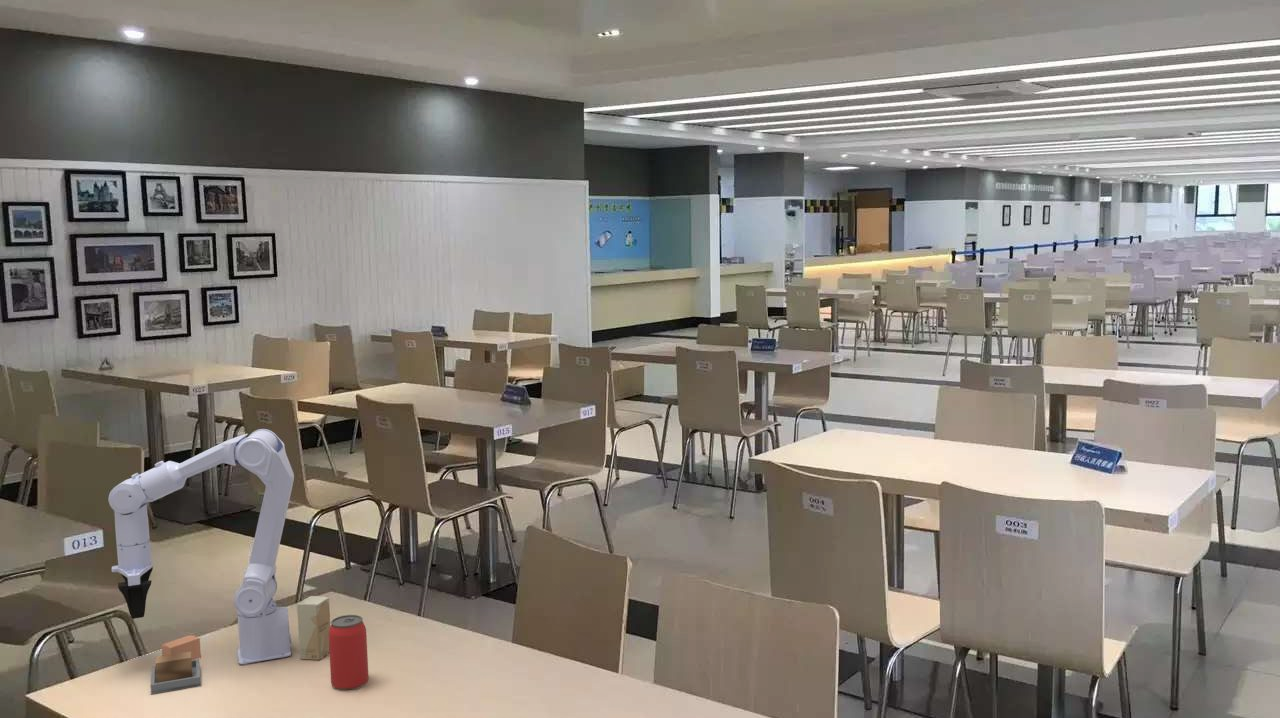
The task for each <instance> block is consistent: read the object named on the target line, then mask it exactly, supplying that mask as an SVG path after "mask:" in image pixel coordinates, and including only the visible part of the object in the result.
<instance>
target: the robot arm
mask: <svg viewBox="0 0 1280 718" xmlns="http://www.w3.org/2000/svg"><path fill="white" fill-rule="evenodd" d="M247 436H248V437H247ZM285 446H286V445H285V443H284V442H283V441H282V439H280V438H279V437H278V435H277V434H276V433H275V432H273V431H272V430H270V429H266V428H260V429H256V430H254V431H252V432H251V433H250V434H248V433H245V434H240V435H239V436H235V437H233V438H231V439H230V438H229V439H227V440H225V441H222V442H220V443H219V444H217V445H215V446H213V447H211V448H209V449H207V450H203V451H202V452H200V453H198V454H197V455H194V456H192V457H191V458H188V459H186V460H184V461H183V462H182V461H181V462H180V463H179V462H176V461H173V460H168V461H166V462H164V460H161V461H158V462H156V463H155V464H154V467H152V468H150V469H147V470H146V471H144V472H142V473H139V472H136V473H134V474H132V475H130V476H131V478H127V479H125V480H123V481H122V482H120V483H119V484H117V485H116V486H114V487H113V488H112V489H111V490H110V492H109V494H108V504H109V506H110V508H111V510H113V513H114V526H115V527H114V528H115V540H116V541H115V542H116V553H117V554H116V556H117V565H112V566H111V572H112V573H119V574H120V575H121V577H122V578H123V579H124V581H123V582H118V583H117V588H118V590H119V592H120V593H121V594H122V595H123V598H124V600H125V602H126V605H127V609H128V612H129V613H128V614H129V616H130V618H131V619H139V618H140V619H141V618H145V614H146V613H145V612H146V605H147V604H146V603H147V596H148V592H149V590H150V587H151V586H152V582H153V581H152V580H151V579H150V576H151V574H152V571H153V567H154V565H153V564H154V563H153V561H152V551H151V540H150V537H151V536H150V527H149V515H148V505H147V504H148V503H153V502H154V501H157V500H159V499H162V498H163V497H165V496H167V495H169V494H172V493H174V492H176V491H179V490H181V489H182V488H184V486H185V484H186V481H187V479H188V478H190V477H193V476H195V475H197V474H200V473H202V472H205V471H208V470H210V469H211V468H214V467H217V466H218V465H221V464H227V465H231V466H235V467H236V466H237V465H238V464H239V465H240V466H242V467H243V468H244V469H246V470H248V471H249V472H251V473H252V474H254V475H256V477H258V478H259V479H260V481H261V482H262V483H263V484H264V486H265V488H264V489H265V490H264V494H263V499H262V501H261V508H260V511H259V515H258V520H257V525H256V529H255V535H254V537H253V538H254V539H253V542H252V543H253V544H252V548H251V552H250V556H249V563H248V564H247V565H248V566H247V568H246V570H245V573H244V575H243V580H242V584H241V586H239V588H238V589H237V590H236V592H235V593H234V596H233V606H234V607H235V609H236V611H237V626H238V641H239V642H238V643H239V648H237V658H238V664H239V665H246V664H251V663H252V664H253V663H257V662H262V661H263V662H264V661H269V660H275V659H281V658H286V657H287V658H288V657H291V656H292V652H291V644H292V637H291V636H292V635H291V633H290V620H289V611H288V607H287V606H277V603H276V601H275V599H273V597H274V596H275V594H276V593H277V589H278V582H277V581H278V580H277V577H276V572H277V565H276V562H277V558H278V553H279V548H280V544H281V540H282V536H283V530H284V527H285V521H286V518H287V512H288V508H289V505H290V499H291V494H292V490H293V485H294V482H295V481H294V480H295V473H294V471H293V468H292V465H291V463H290V461H289V458H288V456H287V452H286V447H285Z"/></svg>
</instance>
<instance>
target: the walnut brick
mask: <svg viewBox="0 0 1280 718" xmlns="http://www.w3.org/2000/svg"><path fill="white" fill-rule="evenodd" d="M154 665H155V667H156V680H157V683H160V682H166V681H172V680H178V679H183V678H189V677H193V676H192V659H191V652H185V653H178V654H172V655H166V656H162V655H161V656H155V663H154Z"/></svg>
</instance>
